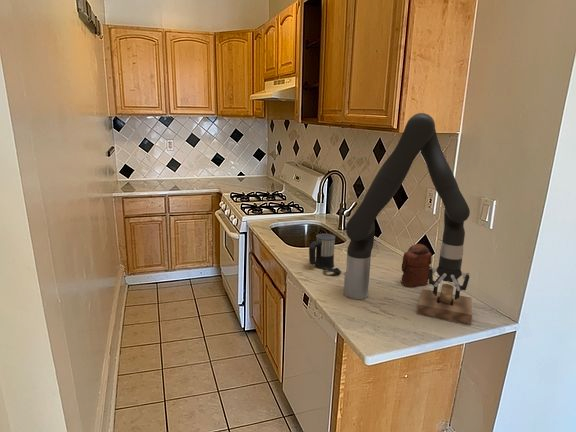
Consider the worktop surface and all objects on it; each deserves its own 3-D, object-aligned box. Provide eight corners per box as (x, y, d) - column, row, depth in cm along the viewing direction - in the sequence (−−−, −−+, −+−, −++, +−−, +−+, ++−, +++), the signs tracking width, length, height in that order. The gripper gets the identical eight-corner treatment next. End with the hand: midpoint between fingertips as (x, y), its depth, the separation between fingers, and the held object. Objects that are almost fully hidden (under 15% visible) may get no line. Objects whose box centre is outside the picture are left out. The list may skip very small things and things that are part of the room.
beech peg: (437, 311, 144) (441, 287, 141) (438, 306, 147) (442, 282, 144) (449, 314, 142) (453, 289, 139) (449, 309, 146) (454, 285, 143)
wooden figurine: (420, 279, 171) (425, 240, 166) (430, 285, 165) (434, 245, 160) (397, 282, 168) (401, 243, 163) (406, 288, 162) (410, 248, 157)
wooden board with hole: (416, 314, 142) (417, 304, 141) (420, 297, 154) (421, 288, 153) (470, 325, 135) (472, 314, 134) (470, 307, 147) (471, 297, 146)
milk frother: (321, 260, 191) (322, 231, 187) (350, 268, 183) (351, 238, 179) (305, 269, 180) (306, 239, 176) (335, 278, 171) (337, 246, 167)
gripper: (429, 255, 138) (424, 297, 143) (473, 261, 133) (466, 305, 137) (430, 248, 145) (426, 289, 149) (473, 254, 139) (466, 296, 144)
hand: (445, 296), depth 143 cm, fingers open, 6 cm apart
